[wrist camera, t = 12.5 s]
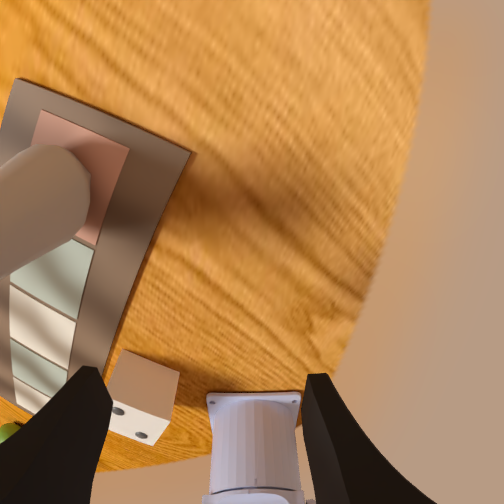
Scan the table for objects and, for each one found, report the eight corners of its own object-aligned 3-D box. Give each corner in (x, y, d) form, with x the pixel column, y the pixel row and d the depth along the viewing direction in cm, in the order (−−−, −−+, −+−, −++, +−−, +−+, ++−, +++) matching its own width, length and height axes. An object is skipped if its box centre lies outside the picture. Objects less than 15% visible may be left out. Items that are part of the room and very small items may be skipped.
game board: (84, 439, 31) (83, 442, 31) (-1, 392, 28) (-3, 395, 28) (191, 152, 16) (190, 153, 16) (17, 78, 13) (14, 78, 13)
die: (162, 401, 26) (152, 446, 22) (111, 380, 25) (95, 424, 21) (180, 371, 24) (170, 422, 20) (122, 347, 23) (103, 396, 19)
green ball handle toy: (37, 444, 34) (16, 503, 23) (3, 421, 32) (-22, 479, 21) (43, 436, 32) (19, 501, 21) (6, 411, 30) (-23, 475, 19)
